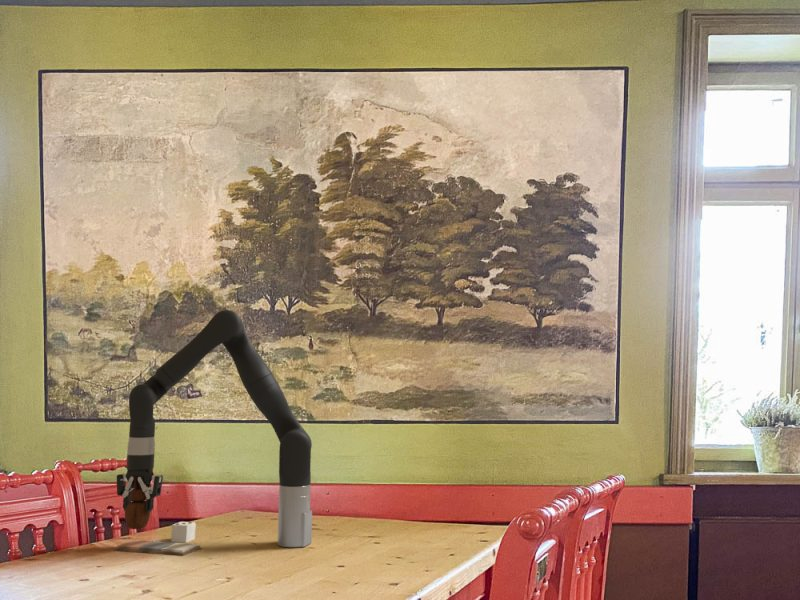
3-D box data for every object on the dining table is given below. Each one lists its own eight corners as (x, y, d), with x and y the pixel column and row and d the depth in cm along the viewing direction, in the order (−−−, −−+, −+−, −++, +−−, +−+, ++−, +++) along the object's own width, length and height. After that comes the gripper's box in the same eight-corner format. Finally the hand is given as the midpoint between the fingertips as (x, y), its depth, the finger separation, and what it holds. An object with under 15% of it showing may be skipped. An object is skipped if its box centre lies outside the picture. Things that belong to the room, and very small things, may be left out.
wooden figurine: (132, 531, 193) (134, 476, 194) (120, 528, 196) (123, 475, 198) (153, 527, 198) (155, 474, 200) (141, 524, 201) (144, 472, 203)
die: (194, 539, 208) (195, 521, 208) (186, 543, 203) (186, 525, 204) (180, 538, 209) (181, 521, 210) (171, 542, 204) (171, 524, 205)
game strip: (200, 548, 196) (200, 543, 197) (183, 555, 188) (183, 551, 188) (133, 543, 202) (133, 539, 202) (113, 550, 193) (113, 546, 193)
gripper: (170, 452, 202) (167, 510, 200) (127, 450, 205) (124, 507, 203) (155, 454, 194) (152, 515, 192) (111, 453, 198) (107, 512, 196)
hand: (137, 511), depth 198 cm, fingers closed on wooden figurine, 6 cm apart
